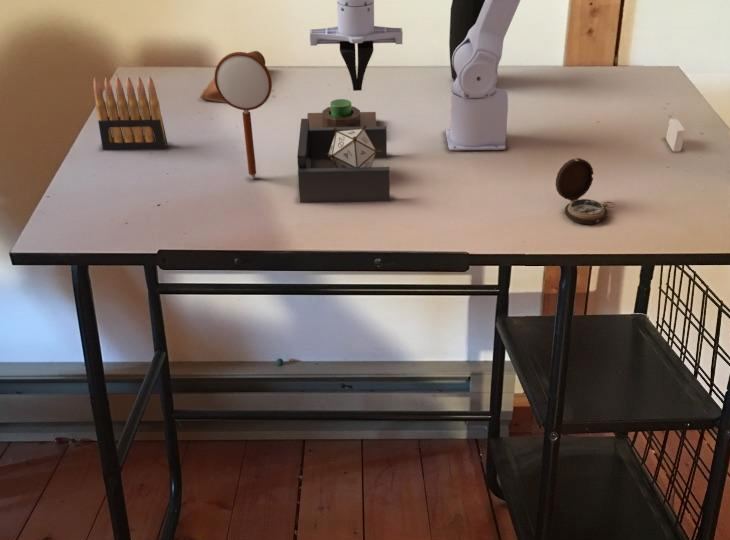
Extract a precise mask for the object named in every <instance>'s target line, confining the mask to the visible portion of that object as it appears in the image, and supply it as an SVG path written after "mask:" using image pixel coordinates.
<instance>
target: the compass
mask: <svg viewBox="0 0 730 540" xmlns="http://www.w3.org/2000/svg"><path fill="white" fill-rule="evenodd" d="M593 175H594V169H593V167H592V165H591V163H589V162H588V161H587V160H586V159H583V158H579V157H574V158H571V159H569V160H568V161H566V162H564V164H563V165H562V166H561V167H560V168H559V170H558V172H557V174H556V178H555V190H556V192H557V193H558V195H559V196H560V197H561V198H563V199H565V200H569V201H570V202H569V203H567V204H566V205H565V207H564V215H565V216H566V217H567V219H569V220H570V221H573V222H574V223H578V224H583V225H593V224H598V223H601V222H603V221H604V220H605V219H606V218H607V217H608V210H607V209H614V208H615V207H616V203H615V202H613V201H604V202H603V203H601V202H599V201H597V200H594V199H587V198H582V197H583V196H584V195H585V194H586V193H587V192H588V191H589V189H590V188H591V186H592V183H593V182H594V181H593V180H594V178H593ZM608 203H609V204H612V205H613V206H609V205H608Z"/></svg>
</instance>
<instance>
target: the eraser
mask: <svg viewBox="0 0 730 540" xmlns="http://www.w3.org/2000/svg"><path fill="white" fill-rule="evenodd" d="M685 131H686V130H685V129H684V127H683V126H682V124H681V123H680V121H679V120H678V118H670V119H669V123H668V127H667V132H666V138H665V140H666V142H667V144H668V145H669V147H670V149H671V150H672V152H674V153H675V152H681V151H682V146H683V143H684V138H685Z"/></svg>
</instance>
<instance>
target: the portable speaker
mask: <svg viewBox="0 0 730 540" xmlns="http://www.w3.org/2000/svg"><path fill="white" fill-rule="evenodd" d="M484 2H485V0H452V1H451V4H450V13H449V14H450V15H449V16H450V17H449V36H448V37H449V39H448V41H449V42H448V46H449V64H450V73H451V79H452V80H453V81H454V82H455V80H456V78H457V73H456V71H455V70H454V68H453V64H452V57H453V53H454V51H455V49H456V48H457V47H458V46H459V45H460V44H461V43H462V42H463V41H464V40H465V38H466V36H467V34H468V31H469V30H470V29H471V28H472V27H473V26H474V25H475V23H476V21H477V19H478V17H479V14H480V12H481V9H482V7H483V4H484Z"/></svg>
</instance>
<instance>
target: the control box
mask: <svg viewBox="0 0 730 540" xmlns="http://www.w3.org/2000/svg"><path fill="white" fill-rule="evenodd" d="M351 106H352V105H351ZM376 113H377V111H361V110H360V109H359V108H357V107H356V106H352V115H350V116H347V117H334V116H332V115H331V107H330V106H328V107H326V108H324V109H323V110H322V111H321V112H308V113H307V118H306V119H309V128H319V127H363V125H364V124H366V126H367V127H377V114H376Z"/></svg>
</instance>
